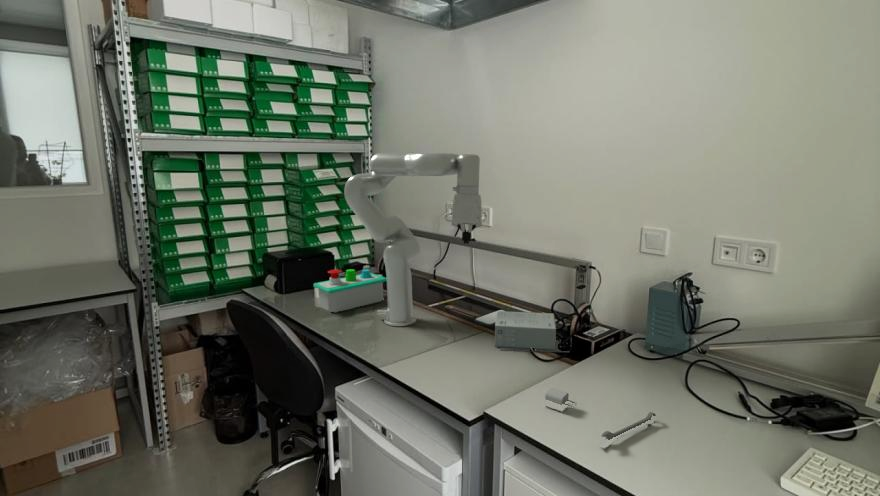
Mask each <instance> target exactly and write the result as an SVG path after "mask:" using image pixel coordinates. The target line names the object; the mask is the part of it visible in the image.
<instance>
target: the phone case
mask: <svg viewBox="0 0 880 496" xmlns="http://www.w3.org/2000/svg"><path fill="white" fill-rule="evenodd" d="M498 311H505V310H504V309H498V310H496V311H493V312H490V313H488V314H484V315H482V316H479V317H476V318H474V323H477V324H480V325H483V326H486V327H490V328H492V327H495V322H496V318H497V313H498Z"/></svg>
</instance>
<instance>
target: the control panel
mask: <svg viewBox="0 0 880 496" xmlns="http://www.w3.org/2000/svg"><path fill="white" fill-rule="evenodd" d="M327 273H328V274H330V277H329V280H324V281H319V282H314V283H313V288H316V289H318V301H319V303H318V306H319V307H321V308H323V309H325V310H327V311H329V312H334V313H339V311H340V312H344V311H347V310H348V311H349V310H351V309H356V307H357V308H360V306H361V307H365V306H369V305H372V304H373V305H374V304H376V303H381V302H383V301H384V300H383V298H384V285H383V284H384V283H385V282H386V283H387V279H386V277H385V276H382V275H378V274H375V273H372V272H370V269H362V271H361V273H359V274H357V273H356V270H355V269H352V268H350V269H346V270H345V277H340V275H339V273H342V270H340V269H336V268H335V269H330V270H327ZM382 300H383V301H382Z"/></svg>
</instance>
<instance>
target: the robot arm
mask: <svg viewBox="0 0 880 496" xmlns="http://www.w3.org/2000/svg"><path fill="white" fill-rule="evenodd" d="M480 161H481V159H480V156H479V155H478V154H465V153H463V154H458V153H451V152H448V153H446V152H443V153H442V152H441V153H440V152H439V153H415V152H411V151H404V152H403V151H400V152H399V151H397V152H396V151H395V152H393V151H391V152H386V151H385V152H384V151H383V152H378V153H375V154H374V155H372V157H371V158H370V161H369V165H370V166H369V167H370V169H371V172H369V173H367V172H366V173H357V174H354V175H352V176H350V177H349V178H348V179H347V181H346V182H345V185H344V191H343V192H344V199H345V201H346V204H347V205H348V207H349V208H350V209H351V210H352V212H353V213H354V215H355V216H356V217H357V218H358V220H359V221H360V222H361V224H362V225H363V227H364V228H365V229H366V231H367V232H368V233H369V235H370V236H371V237H372V239H373V240H374V241H375V242H377V243H380V244H382V243H383V244H384V243H386V242H389V241H390V243H388V244H387V245H386V247H385V248H384V250H383V264H384V265H385V276H386V277H385V278H386V279H387V281H386V294H387V295H386V297H387V298H386V299H387V300H386V301H387V309H385V310H383V309H377V310H376V314H377V316H378V317H383V320H384V324H386V325H388V326H391V327H405V326H410V325H413V324H415V323H416V322H417V320H418V318H417V315H415V314H413V311H414V310H413V285H412V284H413V283H412V272H411V267H410V262H412V261H414V260H415V259H417V258H418V257H419V256H420V253H421V246H420V243H419V241H418V239H416V237H415V235H414V234H413V233H412V232H411V230H410V229H409V227H408V226H407V225H406V223H405V222H404V221H403V220H402V219H401V218H400V217H398V216H396V215H385V214H384V213H383V211H381V209H380V208H379V207H378V205H377V204H376V203H375V202H374V201H373V200H371V199H370V198H369V197H368V196H376V195H378V194H380V193H382V192H383V191H384V190H385V188H387V187H388V186H389V184H390V183H392V181H393V180H394V179H396V177H416V176H417V177H443V176H454V175H456V177H457V178H456V181H457V182H456V186H452V192H456V194H454V195H453V196H454V197H453V201H452V209H451V211H452V213H451V226H452V227H455V228H458V229H459V230H460V231H461V241H463V244H469V243H470V242H471V241H472V232H473V231H474V230H475V229H476V228H481V227H482V226H483V221H482V217H483V212H482V211H483V209H482V208H483V205H482V197H481V194H479V190H480V189H479V188H480V183H479V182H480ZM466 225H468V229H466Z"/></svg>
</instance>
